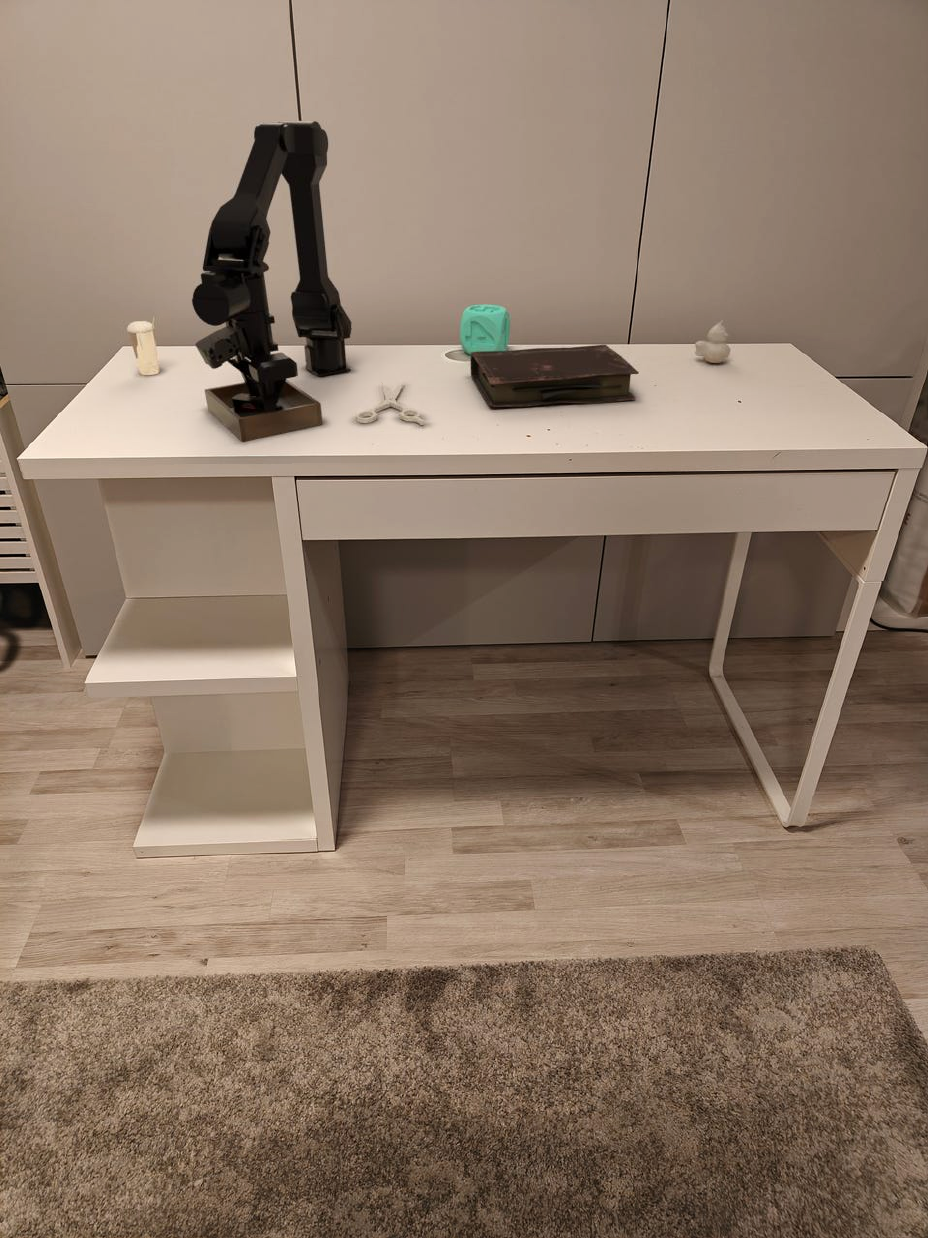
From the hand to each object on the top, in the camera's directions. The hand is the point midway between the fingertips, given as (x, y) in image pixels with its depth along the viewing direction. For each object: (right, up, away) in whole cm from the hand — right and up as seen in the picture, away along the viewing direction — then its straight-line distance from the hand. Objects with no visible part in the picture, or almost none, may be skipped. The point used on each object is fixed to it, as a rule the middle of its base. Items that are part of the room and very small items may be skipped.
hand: (264, 409), depth 132 cm
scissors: (+20, +2, +5) cm, 21 cm away
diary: (+47, +6, +12) cm, 49 cm away
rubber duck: (+79, +15, +24) cm, 84 cm away
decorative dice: (+36, +19, +31) cm, 51 cm away
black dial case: (-1, -1, +1) cm, 2 cm away
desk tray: (0, -1, +1) cm, 1 cm away
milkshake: (-25, +12, +20) cm, 34 cm away
